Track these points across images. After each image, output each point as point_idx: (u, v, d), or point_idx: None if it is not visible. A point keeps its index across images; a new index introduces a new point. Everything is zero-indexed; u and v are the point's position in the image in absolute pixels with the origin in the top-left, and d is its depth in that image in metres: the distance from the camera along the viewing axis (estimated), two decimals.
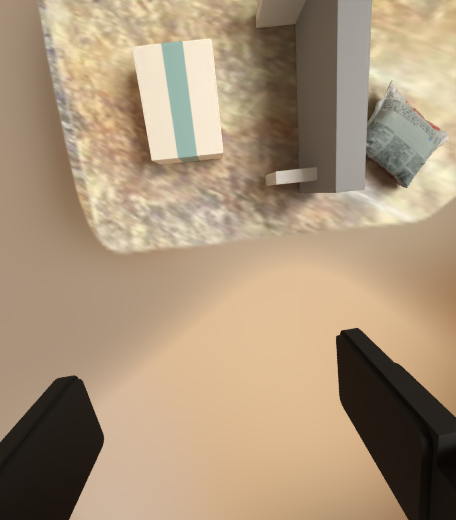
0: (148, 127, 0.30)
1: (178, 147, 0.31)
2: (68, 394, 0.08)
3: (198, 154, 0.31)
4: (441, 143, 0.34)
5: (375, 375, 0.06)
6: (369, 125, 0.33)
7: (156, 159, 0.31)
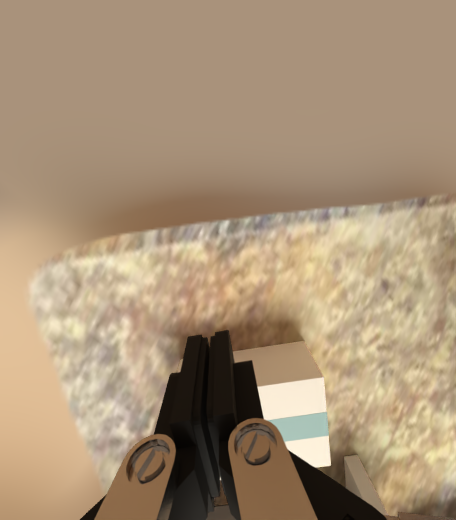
0: None
1: None
2: (205, 348, 0.09)
3: None
4: None
5: (211, 370, 0.08)
6: None
7: None
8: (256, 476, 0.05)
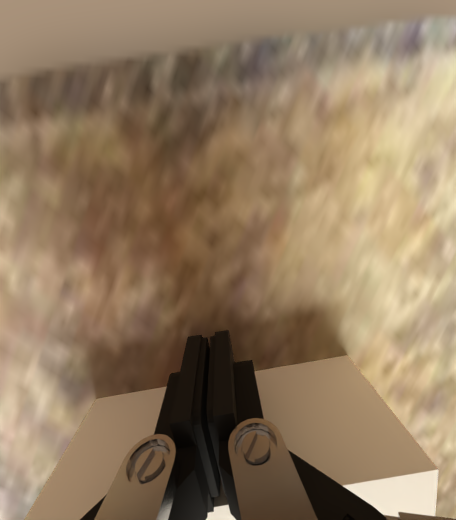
0: None
1: None
2: (205, 348, 0.09)
3: None
4: None
5: (211, 370, 0.08)
6: None
7: None
8: (256, 476, 0.05)
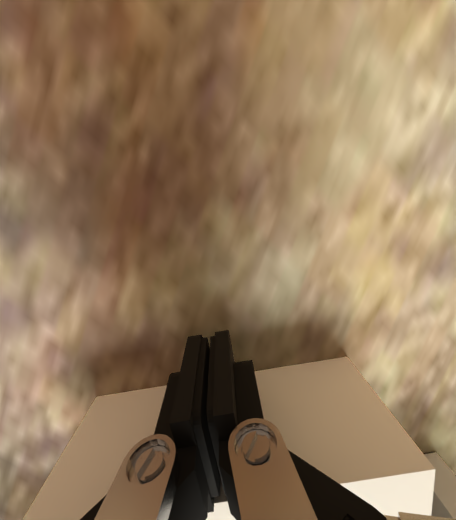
0: None
1: None
2: (205, 348, 0.09)
3: None
4: None
5: (211, 370, 0.08)
6: None
7: None
8: (256, 476, 0.05)
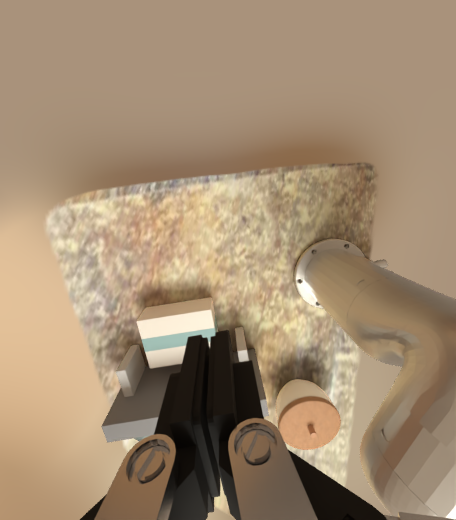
0: (160, 319, 0.39)
1: (149, 339, 0.40)
2: (205, 348, 0.09)
3: (146, 352, 0.41)
4: None
5: (211, 370, 0.08)
6: None
7: None
8: (256, 476, 0.05)
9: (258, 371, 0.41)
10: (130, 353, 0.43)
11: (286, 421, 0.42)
